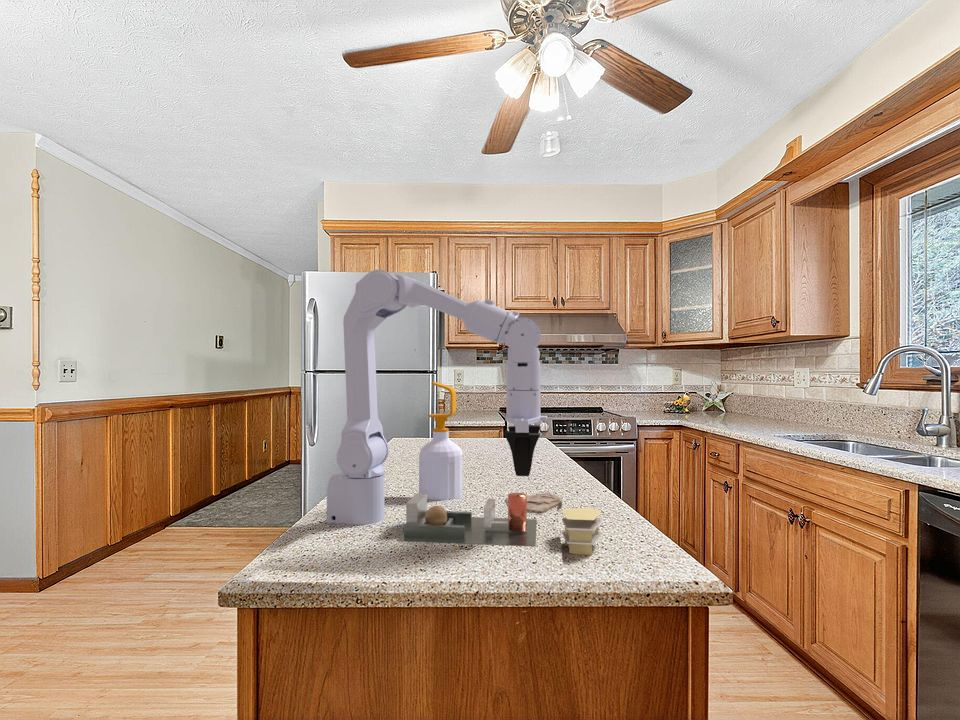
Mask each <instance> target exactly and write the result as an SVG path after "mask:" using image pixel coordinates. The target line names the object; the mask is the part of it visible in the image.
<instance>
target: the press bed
mask: <svg viewBox="0 0 960 720" xmlns="http://www.w3.org/2000/svg"><path fill="white" fill-rule="evenodd" d="M427 510H428V499H427V493H419V492H416V493H415V494H414V495H413V496H412V497H411V498H410V499H409V500H408V501H407V502H406V503H405V511H406V512H405V513H406V514H405V518H406V519H405V521H406V523H405V524H404V525H403V532H402V533H401V535H400V536H399V538H397V539H396V542H404V543H405V542H407V543H408V542H410V543H431V544H432V543H433V544H434V543H436V544H437V543H439V544H459V545H460V544H462V545H463V544H464V545H484V546H485V545H487V546H508V547H509V546H512V547H516V546H517V547H535V548H536V547H537V542H536V541H537V525H538V524H537V521H538V520H537V518H536V519H535V518H533V519H532V518H527V530H526V531H523V532H513V531H510V530H496V529H484V517H479V516H478V517H476V516H473V512H472V511H453V510H451V511H450V510H449V511H448V510H445V511H446V513H447V521H446V523H445V524H444V525H431V524H427V523H426V520H425V514H426V512H427ZM494 521H508V517H507V518H505V517H503V518H502V517H495V518H494Z"/></svg>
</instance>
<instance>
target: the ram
mask: <svg viewBox="0 0 960 720" xmlns="http://www.w3.org/2000/svg"><path fill="white" fill-rule="evenodd" d="M527 496H528V494H527V493H524V492H511V493H510V492H509V493H508V495H507V498H508V506H507V518H508V521H494V518H496V498H487V500H486V502H485V505H484V507H483V518H484V529H496V530H510V531H513V532H523V531H526V530H527V519H528V517H527V516H528V513H527Z"/></svg>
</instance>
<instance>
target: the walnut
mask: <svg viewBox="0 0 960 720" xmlns="http://www.w3.org/2000/svg"><path fill="white" fill-rule="evenodd" d="M446 511H447V510H446V509H445V508H443V506H440V505H433V506H430V507H429V508H427V512H426V514H425V520H426V523H427V524H431V525H444V524H445V523H446V521H447V513H446Z"/></svg>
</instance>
